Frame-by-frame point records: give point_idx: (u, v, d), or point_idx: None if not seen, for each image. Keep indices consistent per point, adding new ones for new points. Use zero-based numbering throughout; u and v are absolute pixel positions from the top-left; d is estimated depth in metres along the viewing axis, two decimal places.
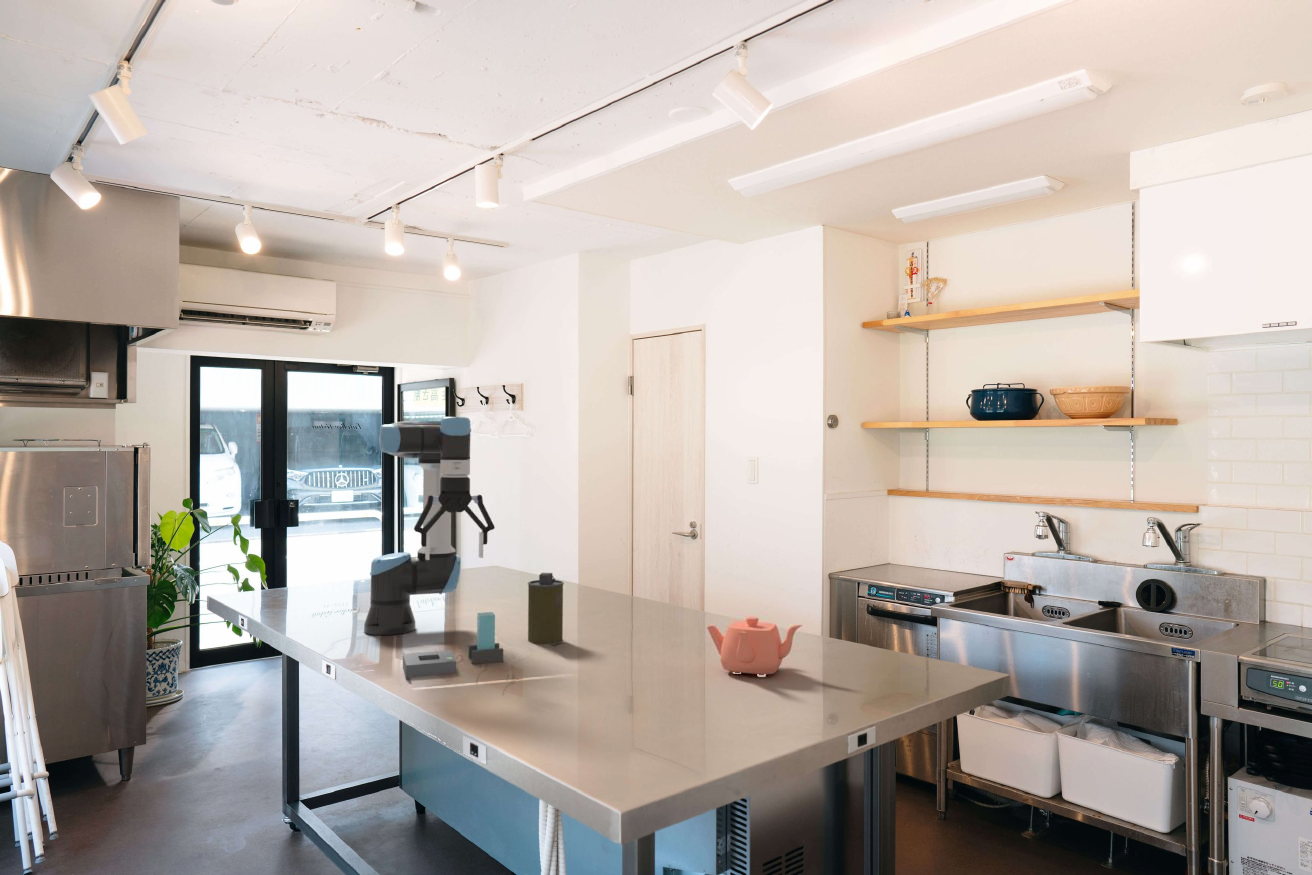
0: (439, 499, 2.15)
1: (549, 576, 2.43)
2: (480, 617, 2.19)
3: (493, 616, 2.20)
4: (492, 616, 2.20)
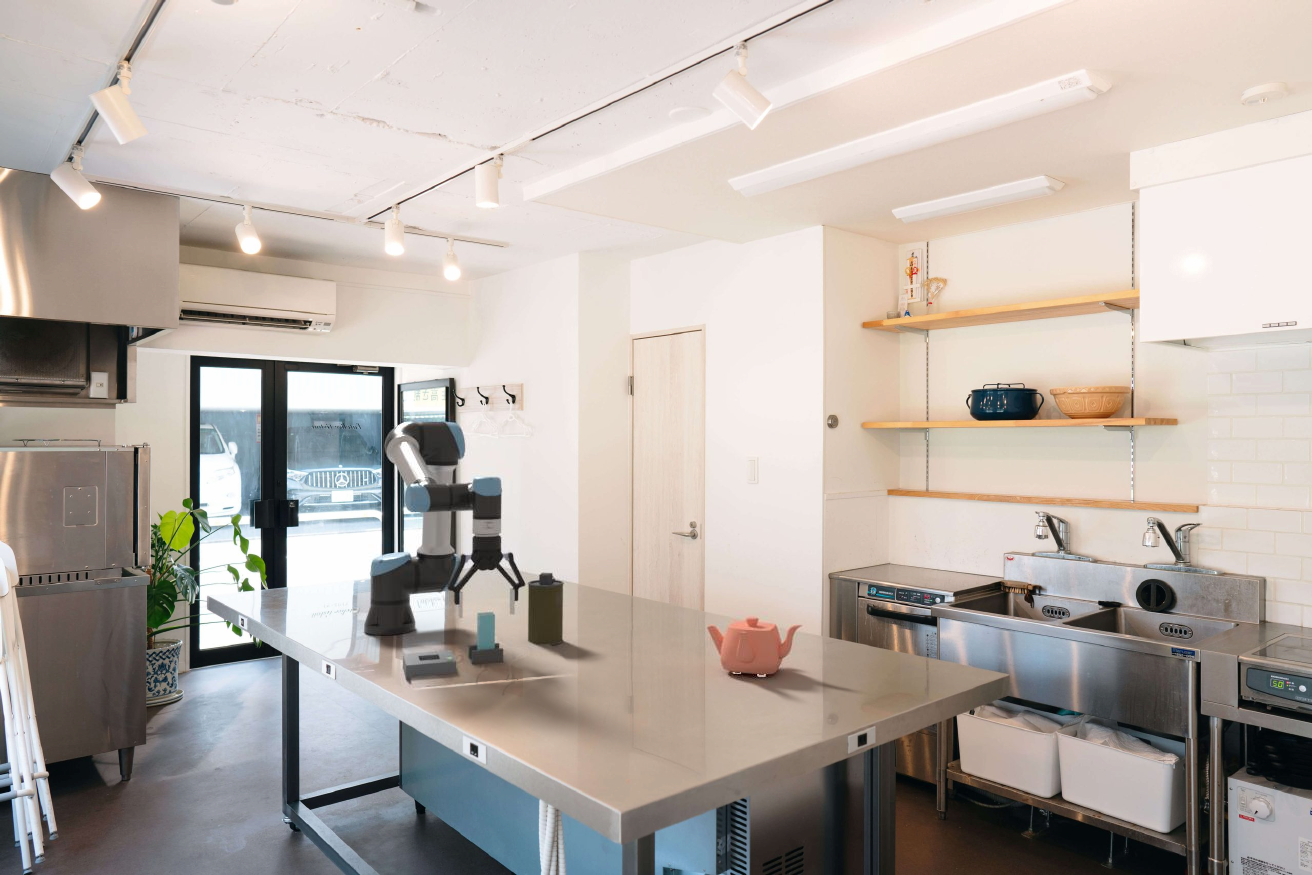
0: (471, 557, 2.20)
1: (549, 576, 2.43)
2: (480, 617, 2.19)
3: (493, 616, 2.20)
4: (492, 616, 2.20)
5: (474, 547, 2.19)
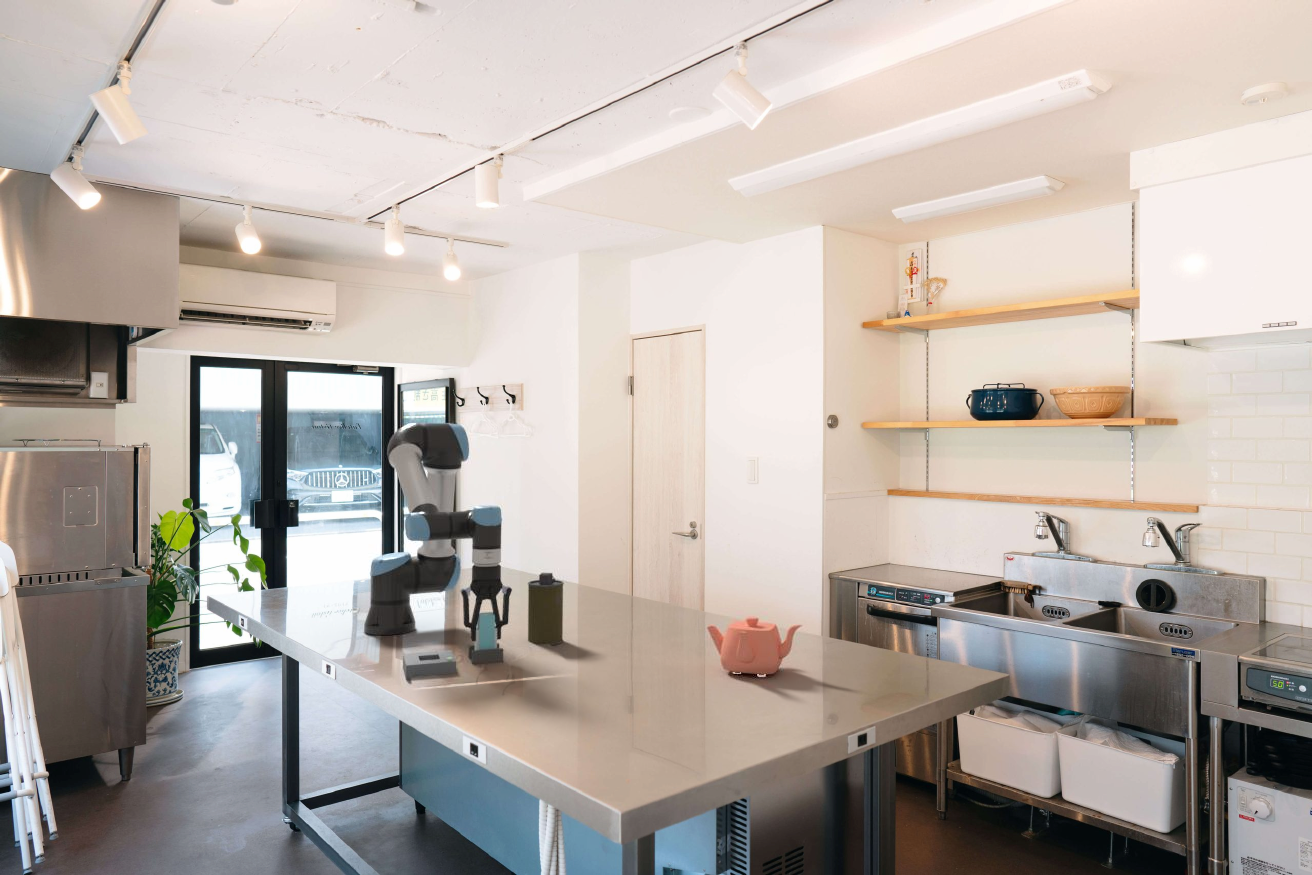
0: (471, 587, 2.20)
1: (549, 576, 2.43)
2: (480, 617, 2.19)
3: (493, 616, 2.20)
4: (492, 616, 2.20)
5: (474, 577, 2.19)
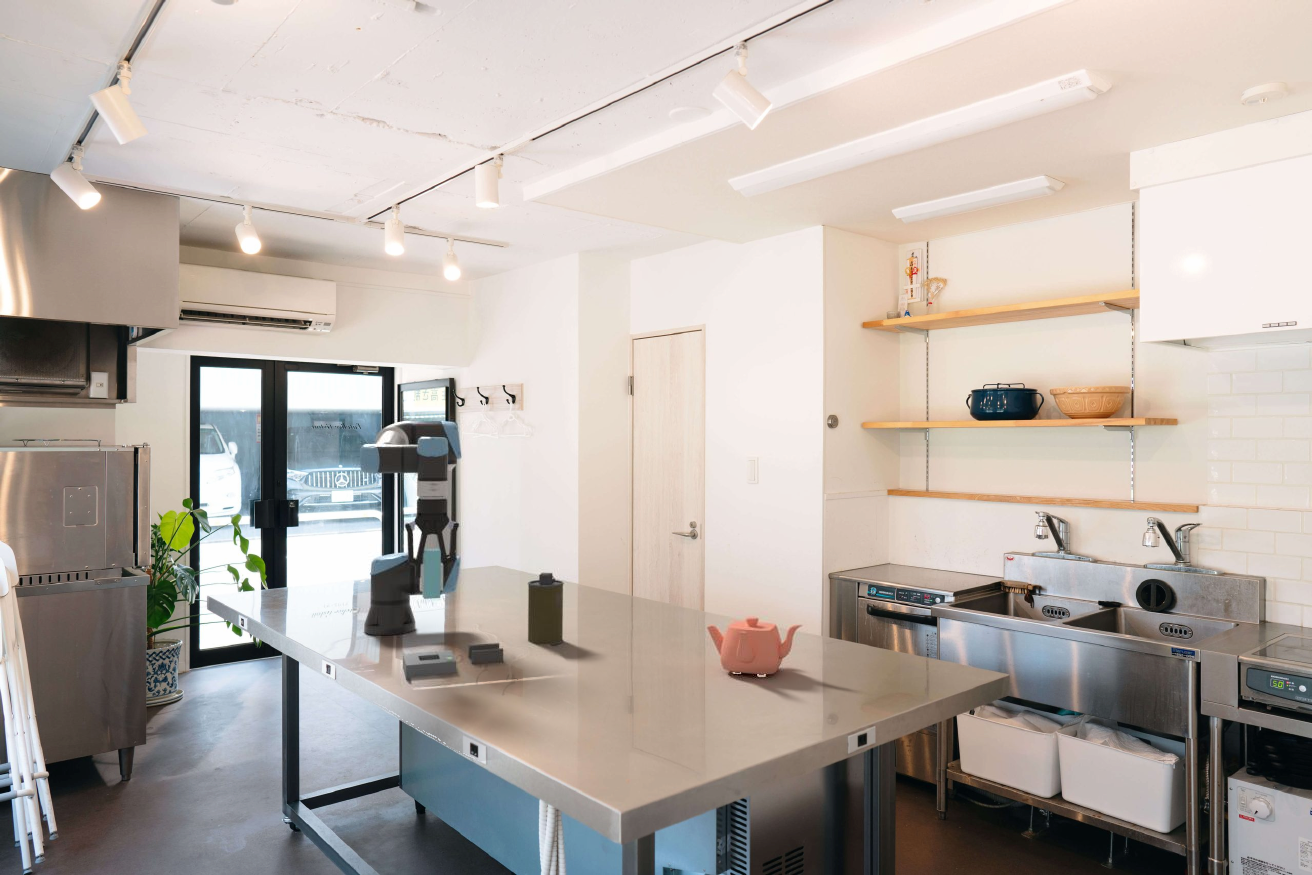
0: (415, 521, 2.10)
1: (549, 576, 2.43)
2: (425, 552, 2.10)
3: (439, 551, 2.11)
4: (438, 551, 2.11)
5: (418, 510, 2.10)
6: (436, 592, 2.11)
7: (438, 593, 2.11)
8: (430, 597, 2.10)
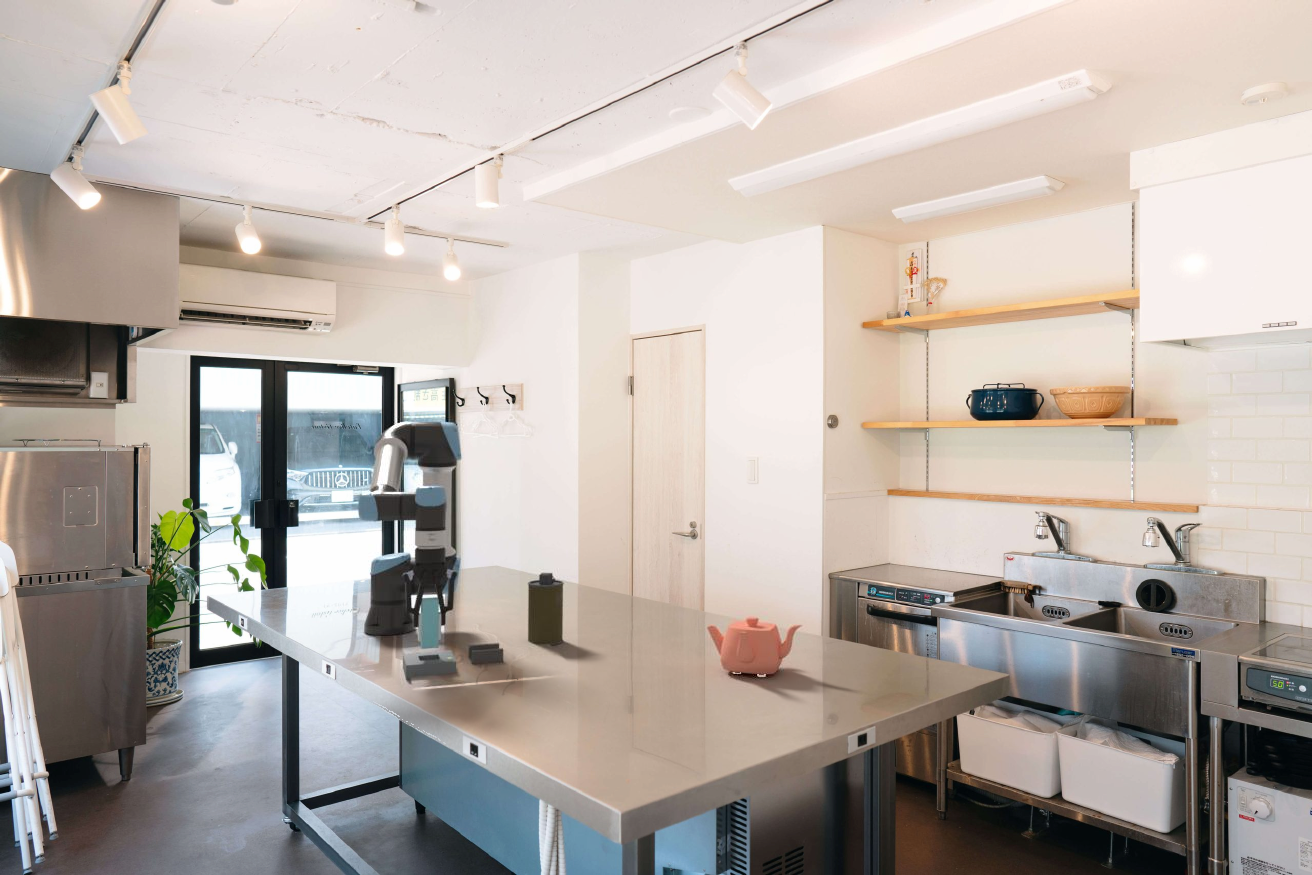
0: (413, 570, 2.10)
1: (549, 576, 2.43)
2: (423, 602, 2.09)
3: (437, 601, 2.10)
4: (436, 601, 2.10)
5: (416, 560, 2.09)
6: (434, 642, 2.10)
7: (436, 643, 2.10)
8: (428, 647, 2.10)
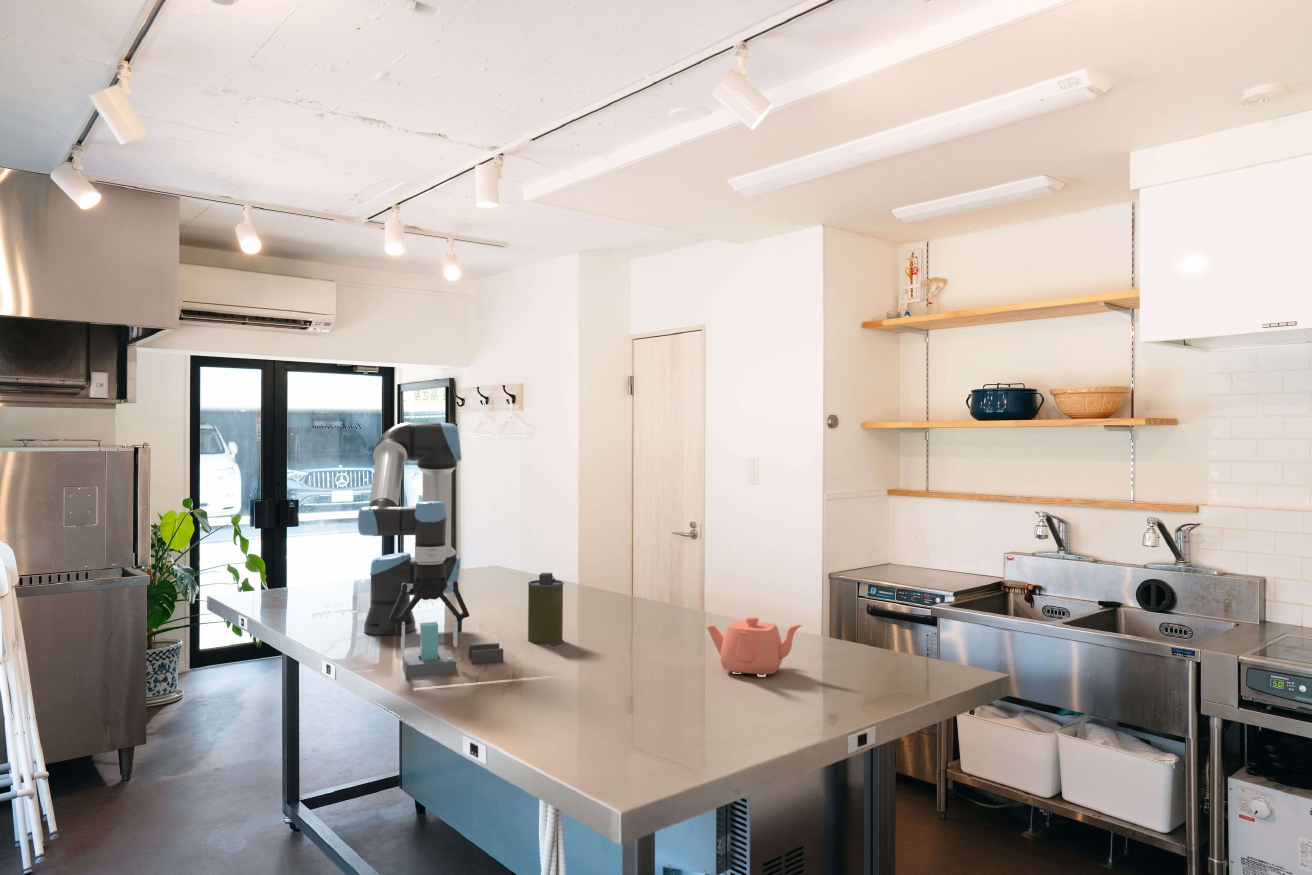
0: (413, 586, 2.10)
1: (549, 576, 2.43)
2: (422, 627, 2.09)
3: (436, 626, 2.10)
4: (435, 626, 2.10)
5: (416, 575, 2.09)
6: None
7: None
8: None
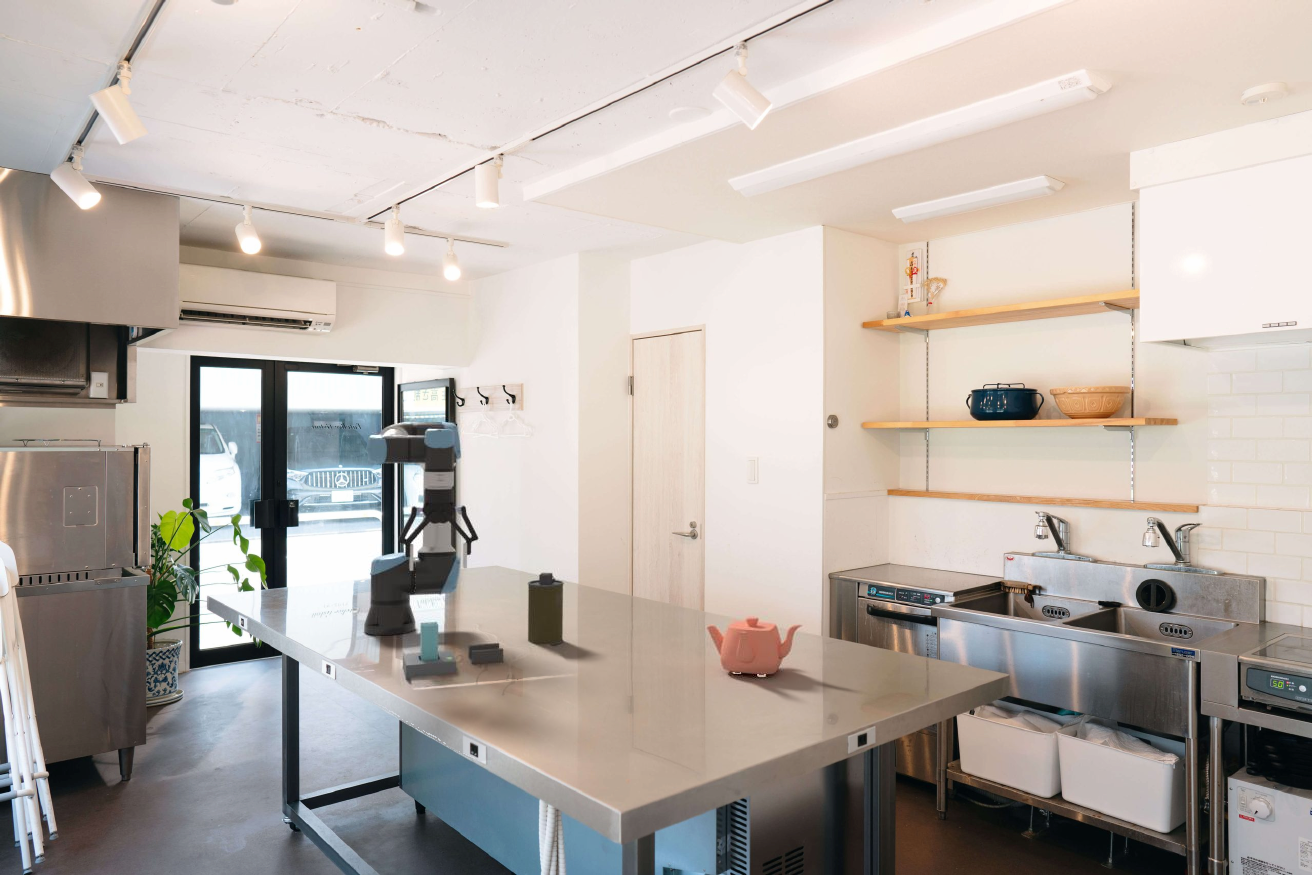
0: (423, 510, 2.17)
1: (549, 576, 2.43)
2: (422, 627, 2.09)
3: (436, 626, 2.10)
4: (435, 626, 2.10)
5: (425, 500, 2.16)
6: None
7: None
8: None
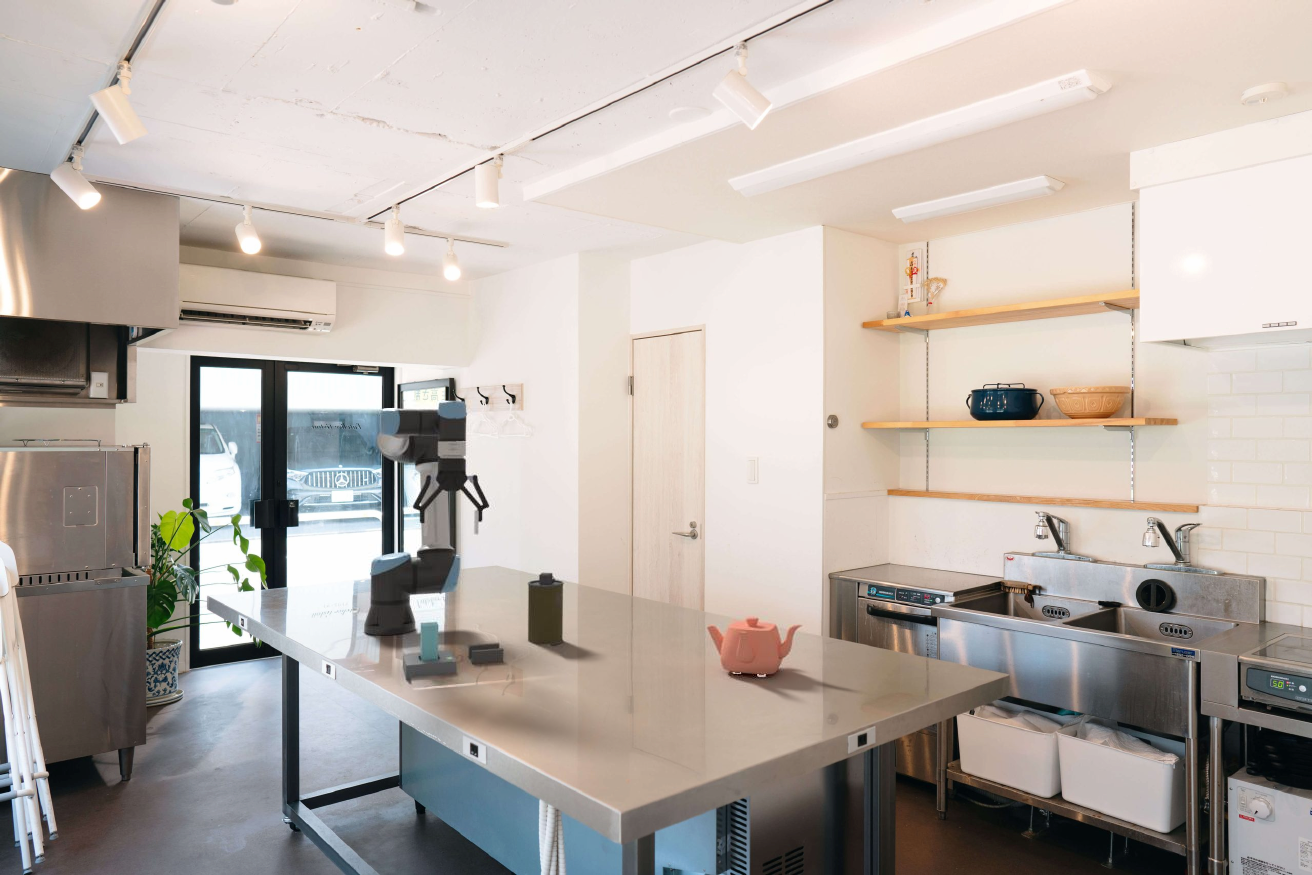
0: (436, 478, 2.27)
1: (549, 576, 2.43)
2: (422, 627, 2.09)
3: (436, 626, 2.10)
4: (435, 626, 2.10)
5: (439, 468, 2.27)
6: None
7: None
8: None
